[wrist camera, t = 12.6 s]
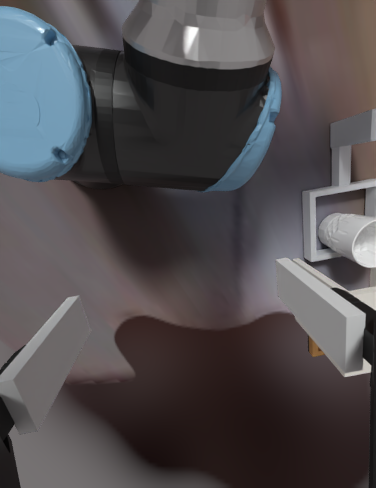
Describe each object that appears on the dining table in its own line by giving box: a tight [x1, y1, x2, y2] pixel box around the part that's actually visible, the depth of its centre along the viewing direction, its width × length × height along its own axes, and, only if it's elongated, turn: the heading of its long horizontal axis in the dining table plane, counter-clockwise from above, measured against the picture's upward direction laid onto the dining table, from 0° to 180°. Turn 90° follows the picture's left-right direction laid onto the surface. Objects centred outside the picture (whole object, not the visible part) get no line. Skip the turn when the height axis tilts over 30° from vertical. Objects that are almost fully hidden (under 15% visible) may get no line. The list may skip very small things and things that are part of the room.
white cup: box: [318, 213, 376, 268], centre depth 41 cm, size 8×8×10 cm
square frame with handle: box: [302, 109, 376, 262], centre depth 39 cm, size 24×13×9 cm, turn 10°
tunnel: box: [292, 258, 376, 377], centre depth 42 cm, size 14×17×15 cm
